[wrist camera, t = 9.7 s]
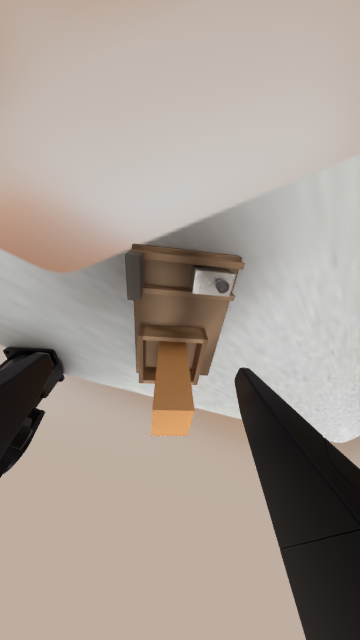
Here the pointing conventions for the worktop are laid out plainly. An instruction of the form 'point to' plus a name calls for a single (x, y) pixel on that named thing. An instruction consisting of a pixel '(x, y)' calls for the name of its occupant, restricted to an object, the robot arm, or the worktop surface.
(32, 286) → the worktop surface
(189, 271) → the housing
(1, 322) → the worktop surface
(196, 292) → the bolt
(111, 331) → the worktop surface
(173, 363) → the block
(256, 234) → the worktop surface
